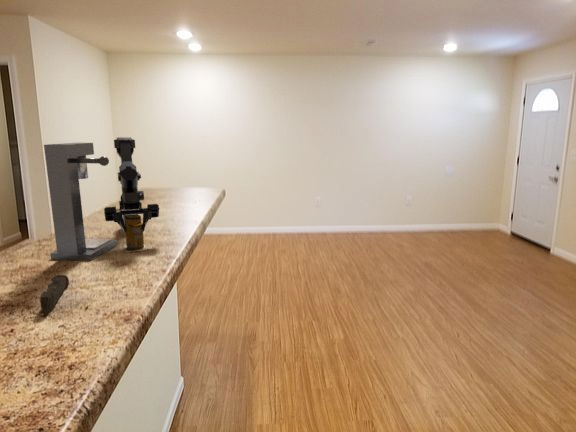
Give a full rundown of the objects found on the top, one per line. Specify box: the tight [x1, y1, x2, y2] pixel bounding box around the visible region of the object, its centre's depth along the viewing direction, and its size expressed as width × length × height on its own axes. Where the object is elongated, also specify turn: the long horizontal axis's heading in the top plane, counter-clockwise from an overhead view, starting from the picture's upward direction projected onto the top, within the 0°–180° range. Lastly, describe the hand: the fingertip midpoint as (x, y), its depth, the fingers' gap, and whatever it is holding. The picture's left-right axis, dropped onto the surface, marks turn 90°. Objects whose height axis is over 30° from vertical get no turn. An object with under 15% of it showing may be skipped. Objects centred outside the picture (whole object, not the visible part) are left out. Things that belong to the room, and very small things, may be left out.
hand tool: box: [39, 274, 70, 317], centre depth 103 cm, size 19×4×5 cm, turn 15°
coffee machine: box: [43, 142, 118, 261], centre depth 138 cm, size 20×22×38 cm
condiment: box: [123, 214, 148, 253], centre depth 146 cm, size 7×8×12 cm
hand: (134, 231), depth 144 cm, fingers closed on condiment, 6 cm apart
